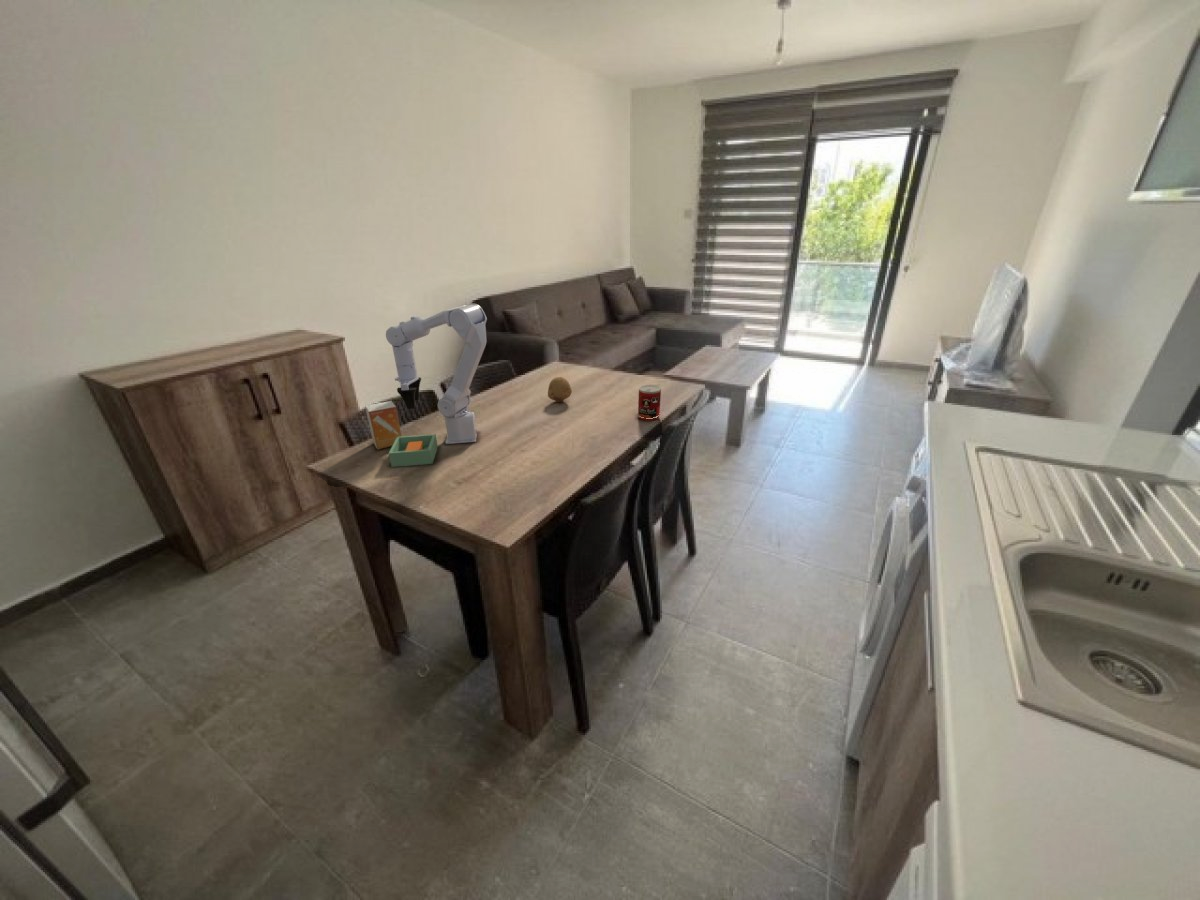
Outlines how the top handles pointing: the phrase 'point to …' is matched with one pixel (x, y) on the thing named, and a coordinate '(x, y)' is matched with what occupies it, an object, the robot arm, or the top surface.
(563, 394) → the natural sponge
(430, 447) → the green open-top bin
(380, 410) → the small box
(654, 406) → the canned food
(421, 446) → the packet
